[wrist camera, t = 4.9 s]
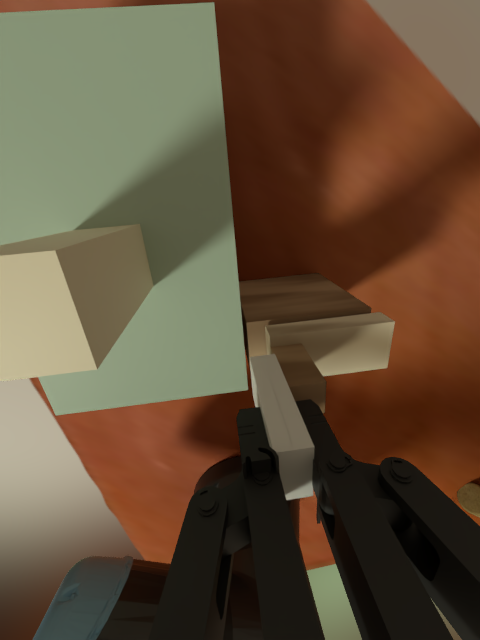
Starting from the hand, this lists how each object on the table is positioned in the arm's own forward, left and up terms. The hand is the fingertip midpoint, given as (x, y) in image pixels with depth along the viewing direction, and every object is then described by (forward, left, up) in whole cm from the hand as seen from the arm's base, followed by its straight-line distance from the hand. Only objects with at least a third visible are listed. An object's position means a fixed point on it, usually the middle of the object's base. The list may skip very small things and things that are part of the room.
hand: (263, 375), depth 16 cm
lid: (+7, +8, -5) cm, 12 cm away
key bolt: (0, -5, -3) cm, 6 cm away
